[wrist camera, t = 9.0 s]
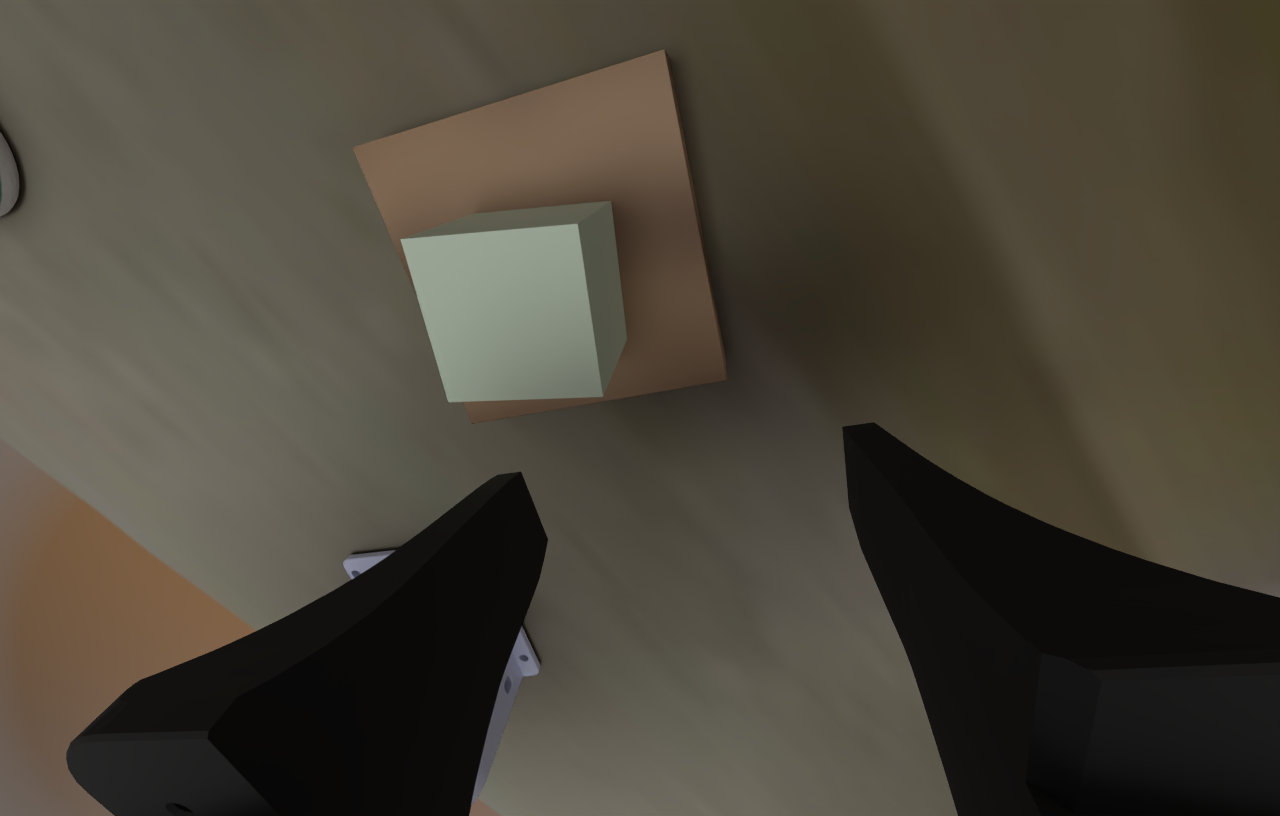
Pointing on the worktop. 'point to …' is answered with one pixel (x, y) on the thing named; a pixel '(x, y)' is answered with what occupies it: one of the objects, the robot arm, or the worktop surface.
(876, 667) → the worktop surface
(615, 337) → the sage block
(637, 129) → the brown square pad
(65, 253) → the worktop surface
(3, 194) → the supplement bottle
